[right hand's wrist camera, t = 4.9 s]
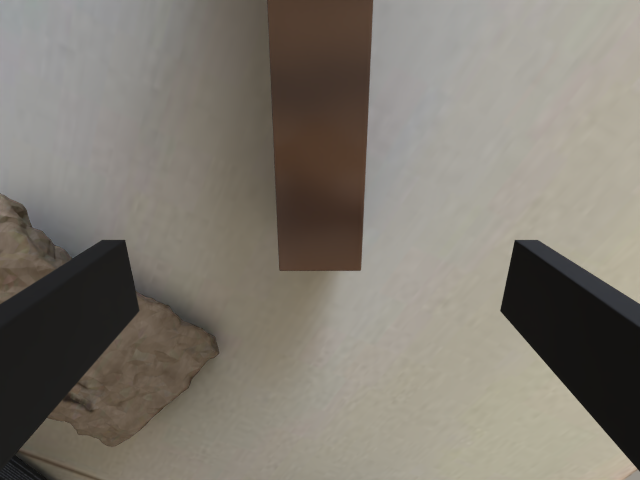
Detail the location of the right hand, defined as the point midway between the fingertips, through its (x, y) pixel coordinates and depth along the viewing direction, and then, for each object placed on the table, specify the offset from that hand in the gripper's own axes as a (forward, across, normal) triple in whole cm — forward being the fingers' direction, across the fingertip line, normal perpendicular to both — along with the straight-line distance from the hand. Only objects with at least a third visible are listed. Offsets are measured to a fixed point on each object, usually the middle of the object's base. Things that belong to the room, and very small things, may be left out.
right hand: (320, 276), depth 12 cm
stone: (+17, +20, +12) cm, 29 cm away
